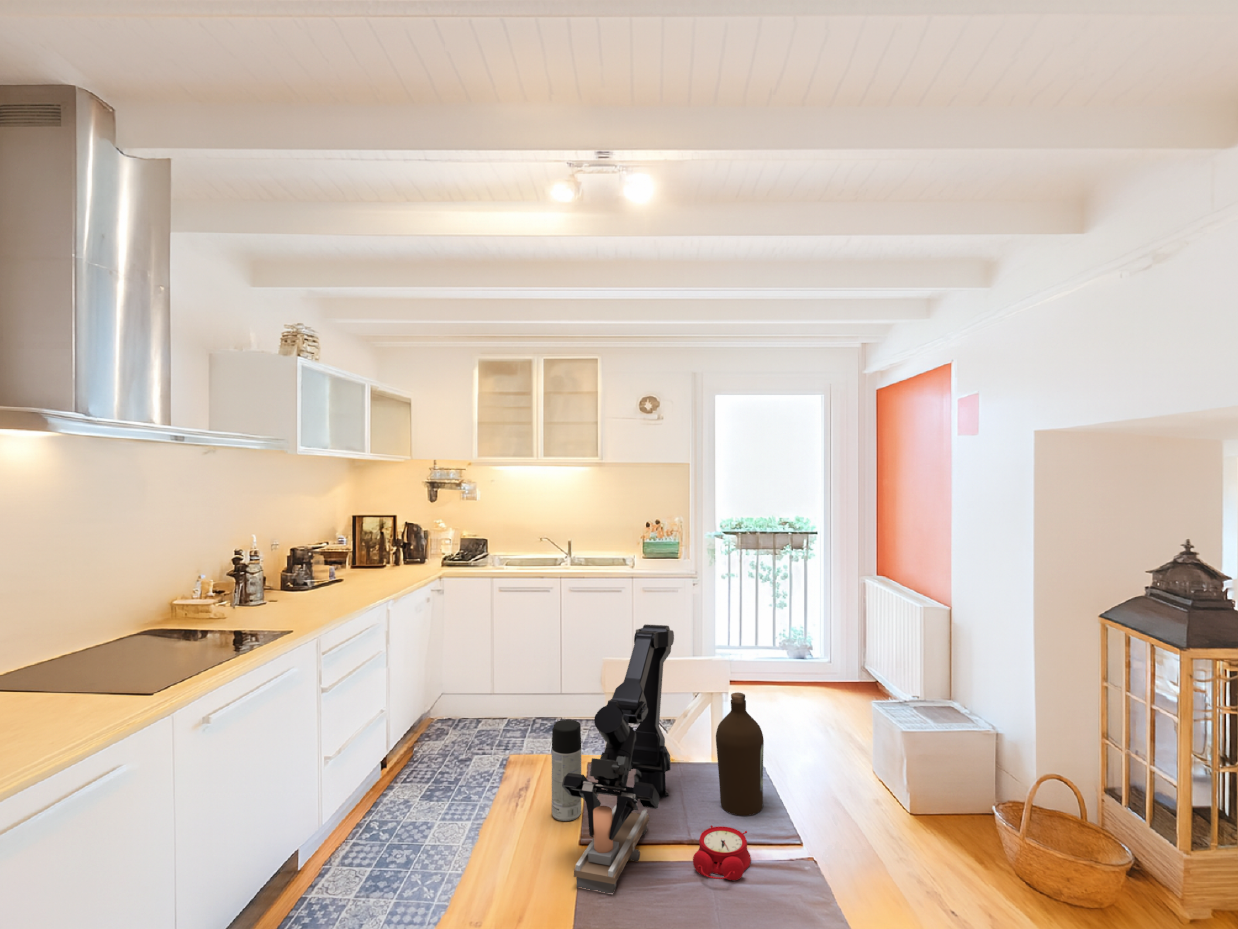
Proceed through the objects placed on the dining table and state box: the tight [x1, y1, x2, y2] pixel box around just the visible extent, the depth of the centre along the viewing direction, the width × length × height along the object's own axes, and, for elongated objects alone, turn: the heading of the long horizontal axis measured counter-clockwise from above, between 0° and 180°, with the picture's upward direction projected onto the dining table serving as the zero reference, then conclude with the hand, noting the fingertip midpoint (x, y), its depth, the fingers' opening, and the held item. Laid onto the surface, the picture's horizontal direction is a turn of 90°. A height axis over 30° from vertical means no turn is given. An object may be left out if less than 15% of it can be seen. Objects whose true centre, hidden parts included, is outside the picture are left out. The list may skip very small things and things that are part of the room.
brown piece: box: [573, 804, 650, 894], centre depth 129 cm, size 22×10×4 cm, turn 161°
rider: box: [588, 805, 619, 866], centre depth 124 cm, size 5×4×9 cm
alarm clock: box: [692, 825, 752, 881], centre depth 126 cm, size 10×6×15 cm
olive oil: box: [715, 692, 765, 817], centre depth 147 cm, size 11×11×25 cm
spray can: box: [551, 719, 582, 822], centre depth 146 cm, size 7×7×20 cm
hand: (600, 838), depth 123 cm, fingers closed on rider, 4 cm apart
